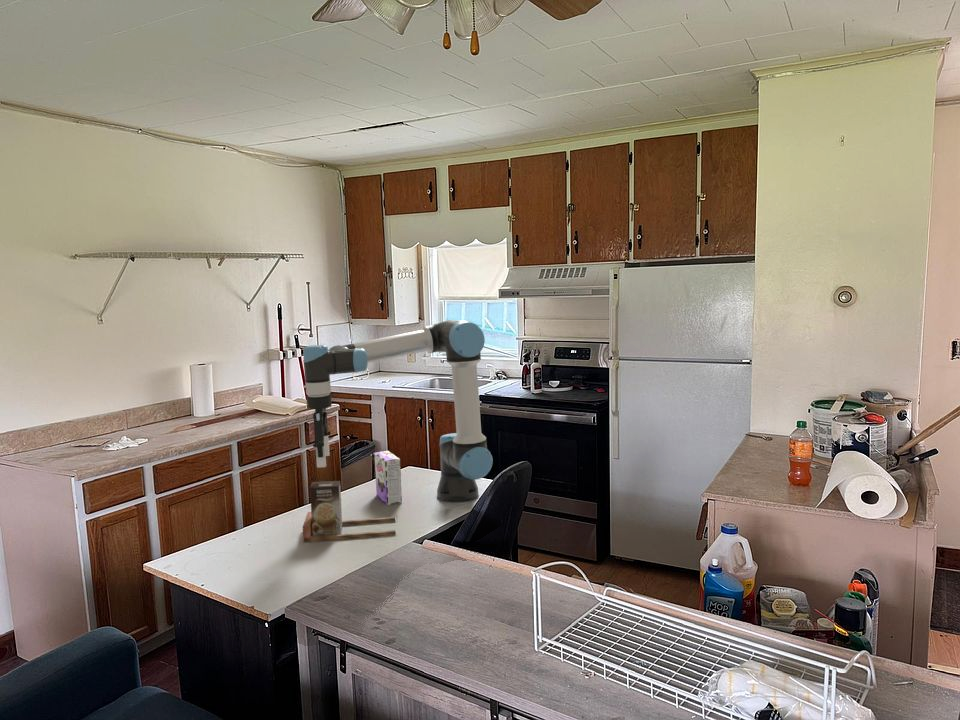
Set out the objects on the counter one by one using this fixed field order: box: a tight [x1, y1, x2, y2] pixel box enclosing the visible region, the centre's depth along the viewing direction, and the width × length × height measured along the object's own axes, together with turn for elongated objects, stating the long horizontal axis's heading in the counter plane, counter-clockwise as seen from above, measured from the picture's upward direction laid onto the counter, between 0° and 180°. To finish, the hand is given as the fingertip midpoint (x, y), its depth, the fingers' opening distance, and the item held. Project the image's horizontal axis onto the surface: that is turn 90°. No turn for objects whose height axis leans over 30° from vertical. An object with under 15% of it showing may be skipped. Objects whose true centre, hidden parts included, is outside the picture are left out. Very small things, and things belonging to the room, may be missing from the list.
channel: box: [302, 511, 397, 543], centre depth 214 cm, size 28×13×5 cm, turn 98°
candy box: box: [373, 450, 403, 506], centre depth 245 cm, size 14×6×16 cm, turn 25°
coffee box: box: [309, 480, 343, 537], centre depth 213 cm, size 9×6×16 cm
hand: (323, 461), depth 212 cm, fingers open, 13 cm apart
